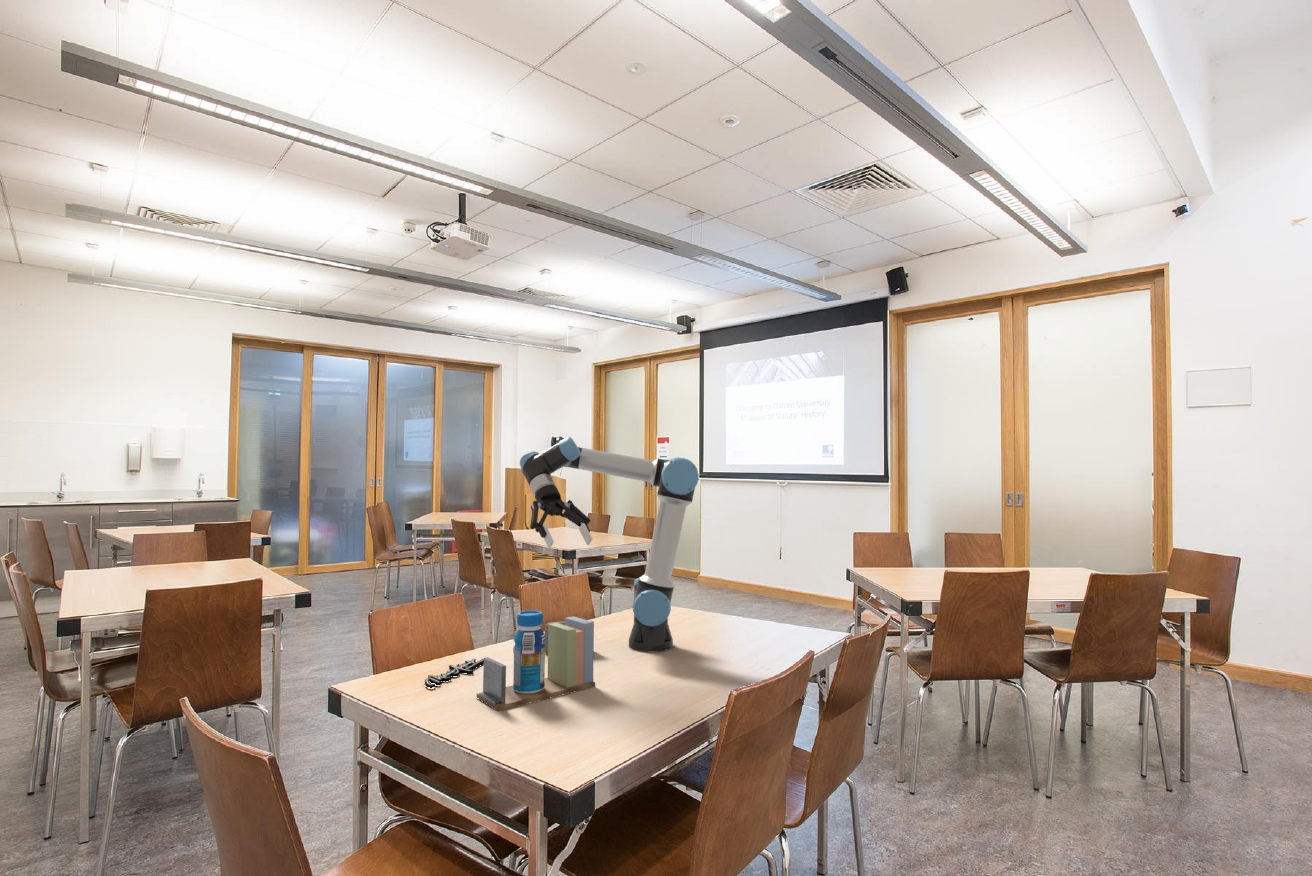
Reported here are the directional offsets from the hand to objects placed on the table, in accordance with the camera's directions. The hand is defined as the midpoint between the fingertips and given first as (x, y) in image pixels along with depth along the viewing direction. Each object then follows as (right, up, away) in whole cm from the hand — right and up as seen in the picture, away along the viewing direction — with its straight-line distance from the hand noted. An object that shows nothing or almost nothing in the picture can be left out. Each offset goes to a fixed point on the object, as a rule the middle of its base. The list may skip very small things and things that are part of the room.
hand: (570, 543), depth 191 cm
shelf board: (-6, -36, -20) cm, 42 cm away
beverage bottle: (-8, -35, -21) cm, 42 cm away
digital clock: (-3, -39, +19) cm, 44 cm away
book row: (+1, -36, -13) cm, 38 cm away
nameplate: (-33, -38, -4) cm, 50 cm away
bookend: (-16, -35, -28) cm, 48 cm away
